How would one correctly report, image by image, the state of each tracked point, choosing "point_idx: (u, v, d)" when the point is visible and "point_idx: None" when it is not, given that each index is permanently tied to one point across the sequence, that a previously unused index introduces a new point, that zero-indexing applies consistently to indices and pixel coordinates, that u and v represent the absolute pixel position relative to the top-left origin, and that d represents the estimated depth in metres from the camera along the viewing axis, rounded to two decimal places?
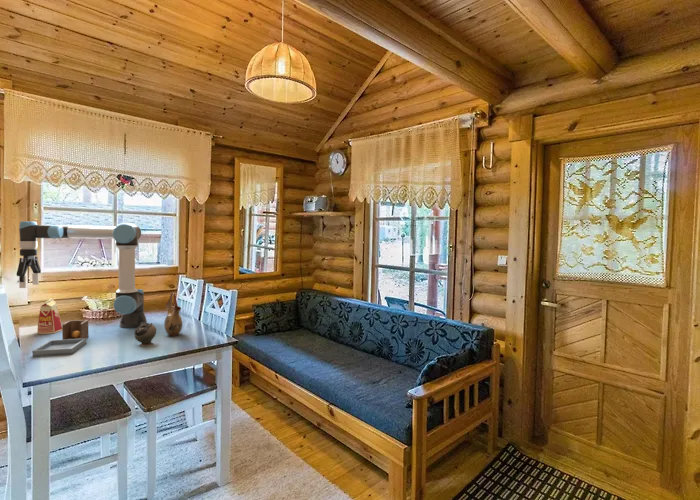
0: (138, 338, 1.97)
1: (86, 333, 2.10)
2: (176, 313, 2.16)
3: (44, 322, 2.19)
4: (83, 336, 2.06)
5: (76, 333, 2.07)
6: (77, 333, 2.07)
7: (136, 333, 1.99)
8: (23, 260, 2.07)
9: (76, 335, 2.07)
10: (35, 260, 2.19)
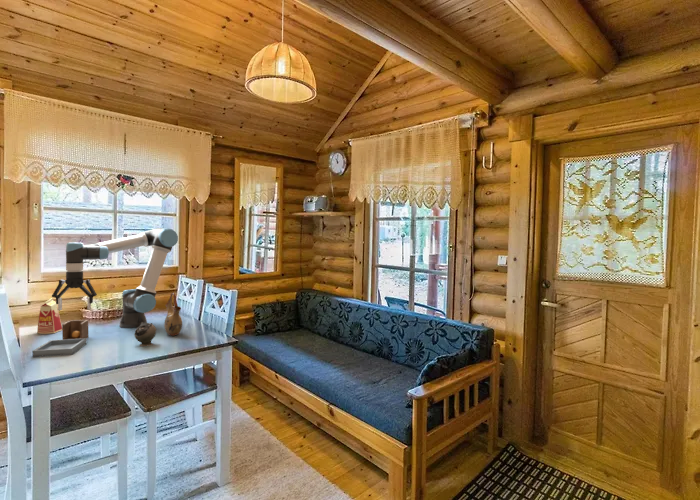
0: (138, 338, 1.97)
1: (86, 333, 2.10)
2: (176, 313, 2.16)
3: (44, 322, 2.19)
4: (83, 336, 2.06)
5: (76, 334, 2.06)
6: (77, 334, 2.06)
7: (136, 333, 1.99)
8: None
9: (76, 336, 2.06)
10: None
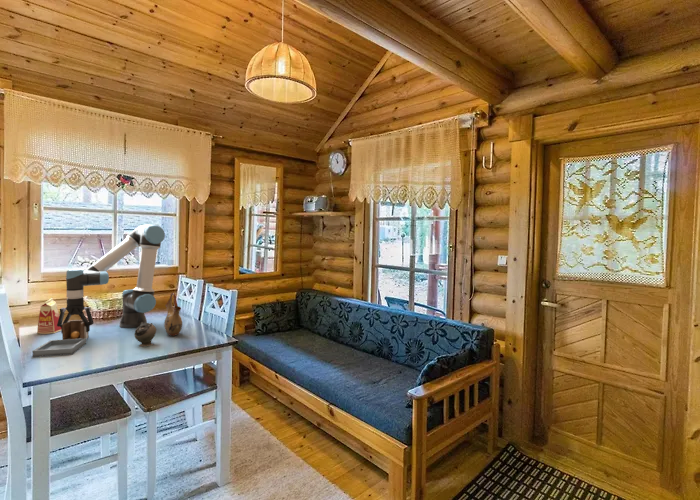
0: (138, 338, 1.97)
1: None
2: (176, 313, 2.16)
3: (44, 322, 2.19)
4: (83, 336, 2.06)
5: (75, 336, 2.05)
6: (76, 336, 2.05)
7: (136, 333, 1.99)
8: None
9: (75, 338, 2.06)
10: None
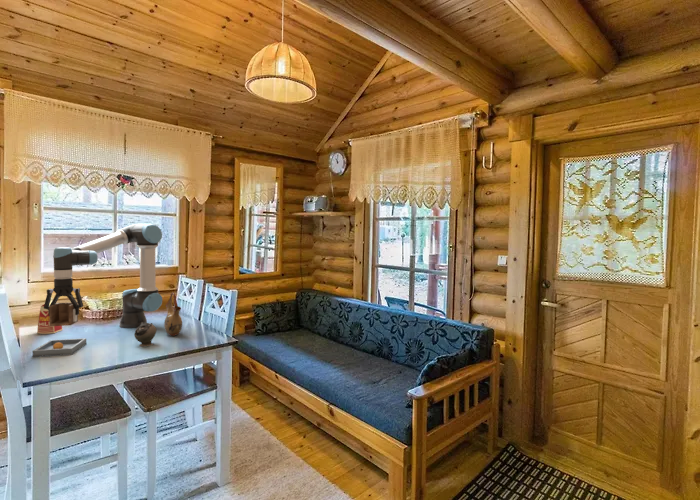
0: (138, 338, 1.97)
1: None
2: (176, 313, 2.16)
3: (44, 322, 2.19)
4: (72, 319, 1.92)
5: (61, 344, 1.86)
6: (61, 344, 1.86)
7: (136, 333, 1.99)
8: None
9: (60, 346, 1.85)
10: None
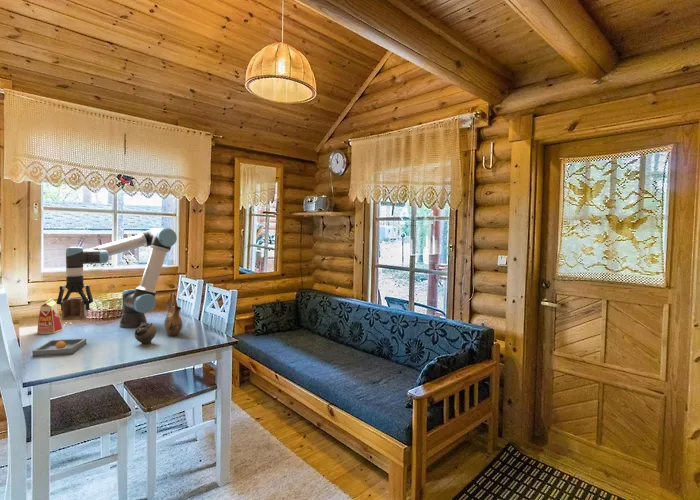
0: (138, 338, 1.97)
1: None
2: (176, 313, 2.16)
3: (44, 322, 2.19)
4: (83, 314, 2.06)
5: (64, 342, 1.89)
6: (65, 343, 1.89)
7: (136, 333, 1.99)
8: None
9: (63, 343, 1.88)
10: (86, 289, 2.07)
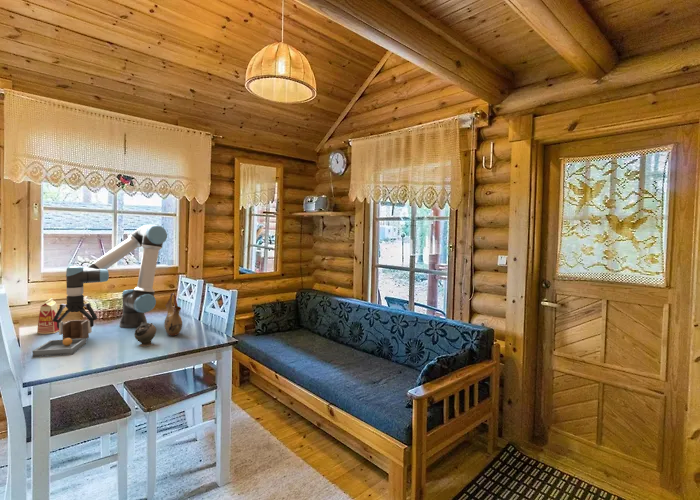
0: (138, 338, 1.97)
1: (86, 333, 2.10)
2: (176, 313, 2.16)
3: (44, 322, 2.19)
4: (83, 336, 2.06)
5: (70, 343, 1.94)
6: (70, 343, 1.94)
7: (136, 333, 1.99)
8: None
9: (71, 343, 1.95)
10: (87, 307, 2.08)
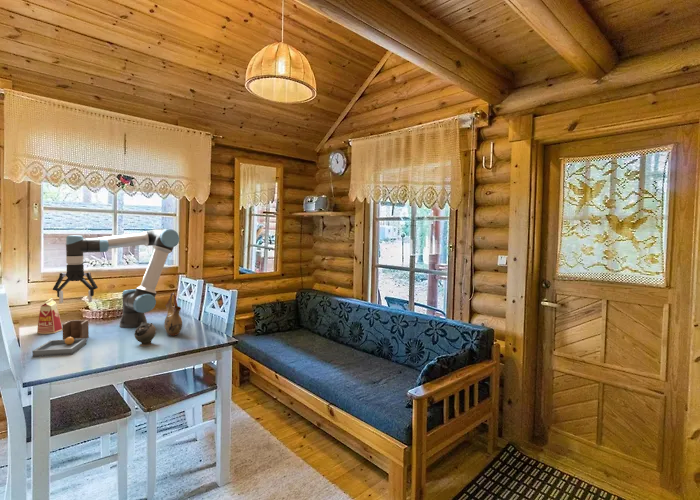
0: (138, 338, 1.97)
1: (86, 333, 2.10)
2: (176, 313, 2.16)
3: (44, 322, 2.19)
4: (83, 336, 2.06)
5: (71, 341, 1.95)
6: (72, 341, 1.96)
7: (136, 333, 1.99)
8: None
9: (72, 342, 1.96)
10: (87, 276, 2.07)
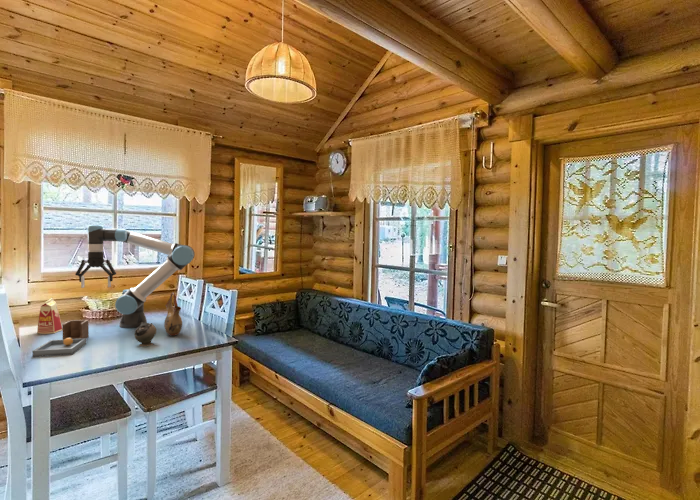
0: (138, 338, 1.97)
1: (86, 333, 2.10)
2: (176, 313, 2.16)
3: (44, 322, 2.19)
4: (83, 336, 2.06)
5: (70, 344, 1.94)
6: (71, 343, 1.94)
7: (136, 333, 1.99)
8: None
9: (71, 343, 1.95)
10: (107, 263, 2.23)
